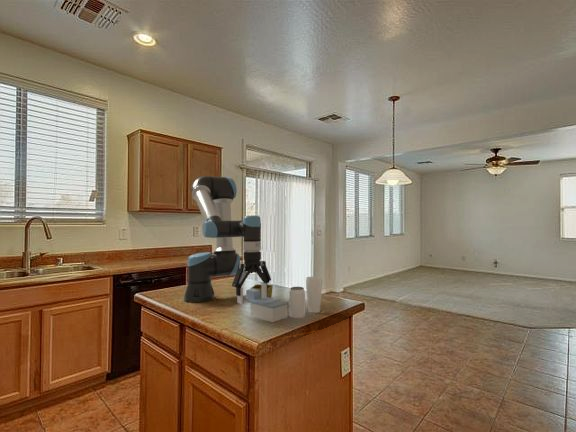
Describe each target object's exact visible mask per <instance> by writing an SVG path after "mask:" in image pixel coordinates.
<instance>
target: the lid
mask: <svg viewBox="0 0 576 432" xmlns="http://www.w3.org/2000/svg"><path fill="white" fill-rule="evenodd" d="M245 298H246V299H245V300H248V303H249V304H251V303H253V304H256V305H260V306H264V307H268V308H271V309H273V308H277V307H280V306H284V305H286V306H287V305H288V304H289V301H286V300H281V299H275V298H272V297H271V298H268V297H261V298H260V290H256V289H246V291H245Z"/></svg>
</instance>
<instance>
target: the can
mask: <svg viewBox="0 0 576 432" xmlns="http://www.w3.org/2000/svg"><path fill="white" fill-rule="evenodd" d="M304 288H305V287H303V286H292V287H290V289H289V298H288V299H289V301H288V304H289V317H290V318H293V319H302V318H305V317H306V291H305V289H304Z"/></svg>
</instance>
